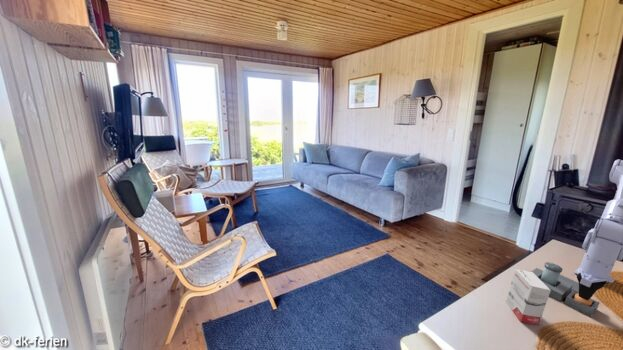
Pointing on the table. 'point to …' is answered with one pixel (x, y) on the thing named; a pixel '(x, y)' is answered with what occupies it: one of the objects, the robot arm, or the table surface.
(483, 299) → the table surface
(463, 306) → the table surface
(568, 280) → the slate mat
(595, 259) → the robot arm
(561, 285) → the socket block
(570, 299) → the button housing
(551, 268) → the cylinder
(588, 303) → the release button
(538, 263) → the table surface
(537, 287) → the ink box
